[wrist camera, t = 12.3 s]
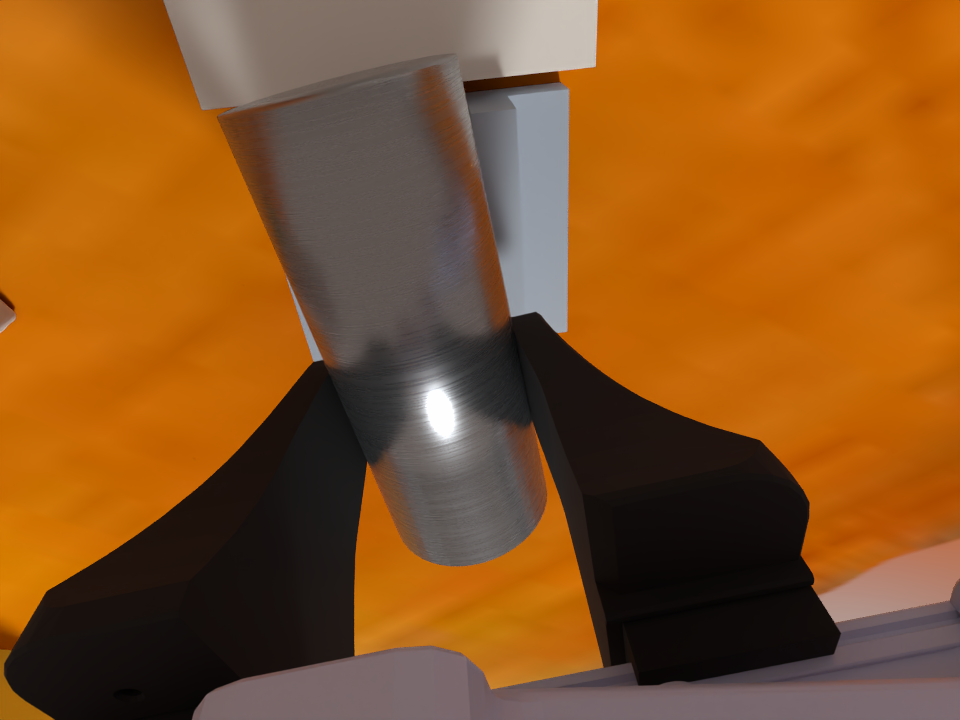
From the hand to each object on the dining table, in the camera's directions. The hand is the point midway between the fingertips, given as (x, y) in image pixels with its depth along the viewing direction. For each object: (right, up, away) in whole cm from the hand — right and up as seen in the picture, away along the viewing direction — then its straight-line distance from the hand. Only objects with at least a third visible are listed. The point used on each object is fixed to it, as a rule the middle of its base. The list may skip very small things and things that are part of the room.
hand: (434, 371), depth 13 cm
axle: (0, +1, -1) cm, 1 cm away
